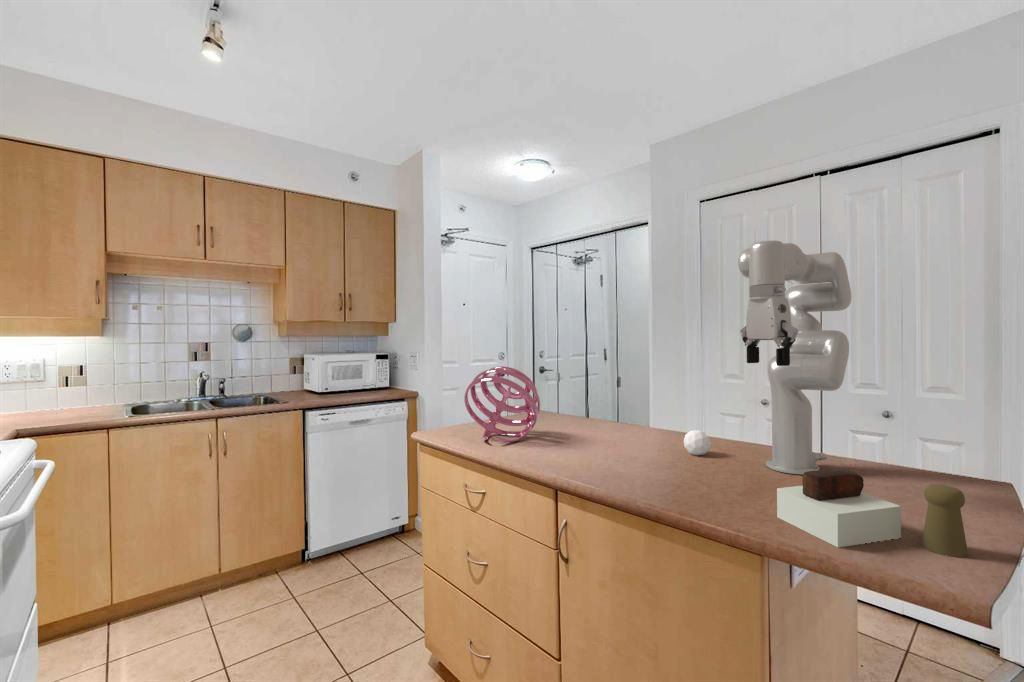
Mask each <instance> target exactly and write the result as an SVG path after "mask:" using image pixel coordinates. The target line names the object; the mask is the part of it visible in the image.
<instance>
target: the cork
mask: <svg viewBox="0 0 1024 682" xmlns="http://www.w3.org/2000/svg"><path fill="white" fill-rule="evenodd" d="M923 493H924V495H923V496H924V498H925V501H926V503H928V505H927V509H926V510H927V511H926V515H925V522H924V527H923V533H922V537H921V543H920V545H921V544H922V545H921V546H922V548H924V549H925V550H927V549H928V551H929V550H930V552H931V553H934V552H935V553H934V554H937V553H939V554H938V555H941V554H942V555H941V556H945V555H947V556H946V557H950V556H951V558H966V556H967V557H968V556H969V552H968V545H967V539H966V534H965V528H964V522H963V516H962V510H961V508H963V507H964V506H965V503H966V497H965V495H964V493H963V492H962V491H961V490H960V489H958V488H956V487H954V486H950V485H946V484H930V485H927V486H926V487H925V489H924V492H923Z"/></svg>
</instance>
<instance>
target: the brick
mask: <svg viewBox="0 0 1024 682" xmlns="http://www.w3.org/2000/svg"><path fill="white" fill-rule="evenodd" d="M802 486H803V494H804V495H806V496H809V497H811V498H814V499H816V500H828V499H838V498H845V497H853V496H860V495H861V492H862V491H863V489H864V487H865V485H864V478H863V477H862V476H861V475H860V474H858V473H856V472H854V471H851V470H849V469H846V468H833V469H824V470H823V469H822V470H819V471H807V472H804V473H803V475H802Z"/></svg>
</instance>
